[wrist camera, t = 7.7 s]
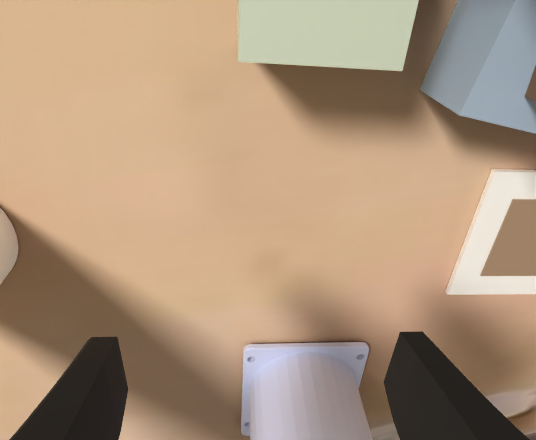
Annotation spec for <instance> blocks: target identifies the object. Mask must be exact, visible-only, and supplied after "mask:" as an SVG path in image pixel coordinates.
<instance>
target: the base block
mask: <svg viewBox="0 0 536 440" xmlns="http://www.w3.org/2000/svg"><path fill="white" fill-rule="evenodd" d="M535 65H536V0H458V1H457V3H456V6H455V8H454V10H453V13H452V15H451V17H450V20H449V22H448V24H447V27H446V29H445V31H444V34H443V36H442V38H441V41H440V43H439V45H438V48H437V50H436V53H435V55H434V57H433V60H432V62H431V64H430V67H429V69H428V71H427V74H426V76H425V78H424V81H423V83H422V85H421V88H420V91H422V92H423V93H425V94H426V95H428V96H430V97H431V98H433V99H434V100H436V101H437V102H439V103H441V104H442V105H444V106H445V107H447V108H448V109H450V110H452V111H453V112H455V113H456V114H458V115H460V116H464V117H468V118H472V119H476V120H480V121H485V122H489V123H493V124H497V125H501V126H505V127H510V128H514V129H518V130H522V131H526V132H530V133H535V134H536V102H535V101H533V100H531V99H529V98H526V97H525V94H526V91H527V88H528V85H529V82H530V80H531V77H532V74H533V71H534V68H535Z"/></svg>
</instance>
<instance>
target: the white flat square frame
mask: <svg viewBox="0 0 536 440" xmlns="http://www.w3.org/2000/svg"><path fill="white" fill-rule="evenodd" d="M446 293H447V294H448V295H478V294H536V170H511V169H492V170H491V173H490V175H489V178H488V180H487V183H486V186H485V188H484V191H483V194H482V196H481V199H480V202H479V204H478V207H477V209H476V212H475V215H474V217H473V220H472V223H471V225H470V228H469V231H468V233H467V236H466V238H465V241H464V244H463V246H462V249H461V252H460V254H459V257H458V259H457V262H456V265H455V267H454V270H453V273H452V275H451V278H450V281H449V283H448V286H447V288H446Z"/></svg>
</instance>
